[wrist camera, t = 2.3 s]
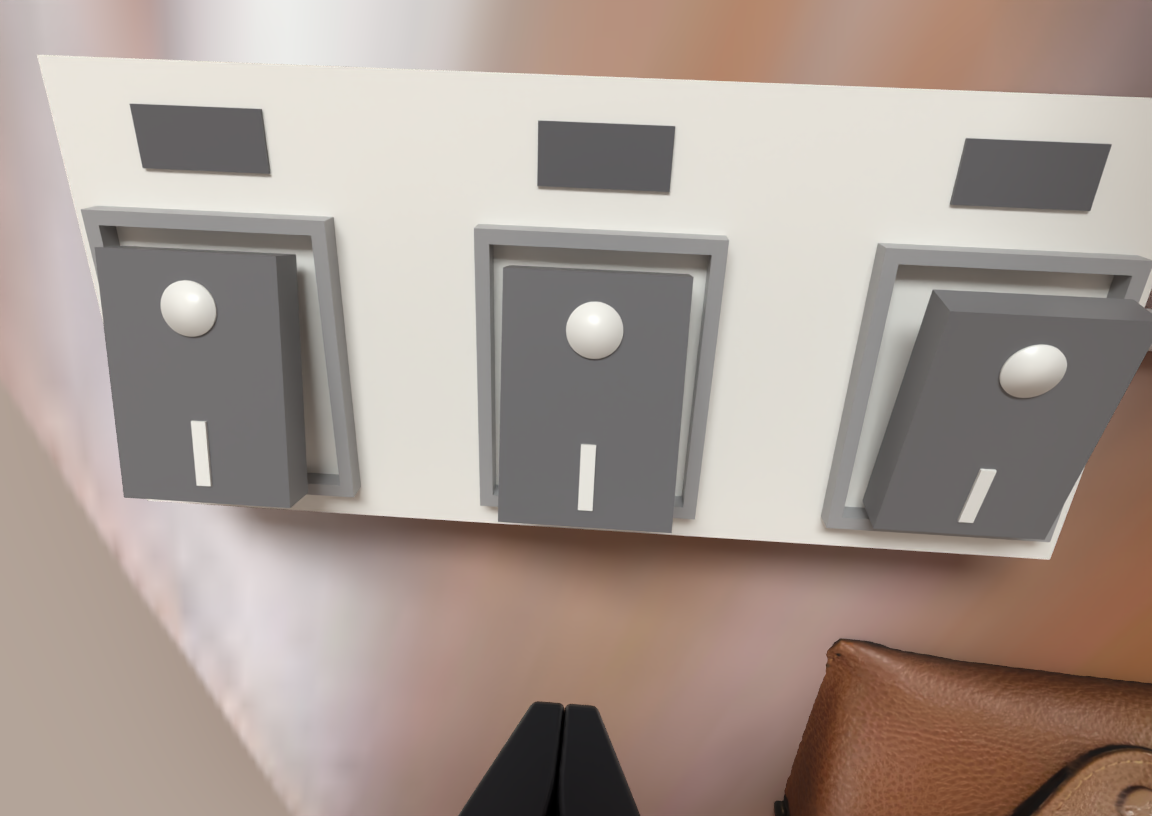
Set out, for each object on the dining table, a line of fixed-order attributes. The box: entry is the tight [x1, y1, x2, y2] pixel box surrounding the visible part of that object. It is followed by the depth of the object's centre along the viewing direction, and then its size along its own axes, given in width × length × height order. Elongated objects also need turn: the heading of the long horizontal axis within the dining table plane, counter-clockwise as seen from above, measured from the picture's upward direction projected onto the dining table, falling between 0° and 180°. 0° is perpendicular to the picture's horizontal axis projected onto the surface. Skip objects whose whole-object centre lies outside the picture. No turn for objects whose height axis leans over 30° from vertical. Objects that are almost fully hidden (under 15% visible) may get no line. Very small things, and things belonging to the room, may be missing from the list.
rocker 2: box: [863, 289, 1152, 540], centre depth 14 cm, size 4×5×1 cm
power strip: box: [37, 55, 1152, 560], centre depth 16 cm, size 28×10×4 cm, turn 88°
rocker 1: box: [95, 246, 308, 508], centre depth 15 cm, size 4×5×1 cm
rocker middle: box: [498, 265, 694, 533], centre depth 15 cm, size 4×5×1 cm
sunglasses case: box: [774, 639, 1152, 816], centre depth 23 cm, size 18×7×7 cm
